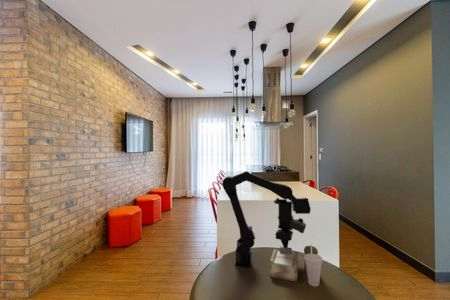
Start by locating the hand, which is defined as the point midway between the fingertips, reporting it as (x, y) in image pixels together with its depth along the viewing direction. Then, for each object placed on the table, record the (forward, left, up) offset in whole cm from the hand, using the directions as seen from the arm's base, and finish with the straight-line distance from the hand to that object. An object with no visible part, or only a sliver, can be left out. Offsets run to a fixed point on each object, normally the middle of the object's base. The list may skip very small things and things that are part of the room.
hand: (285, 249), depth 95 cm
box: (0, -7, -7) cm, 9 cm away
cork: (+10, -6, -7) cm, 14 cm away
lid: (0, -7, -1) cm, 7 cm away
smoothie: (+11, -12, -7) cm, 17 cm away
